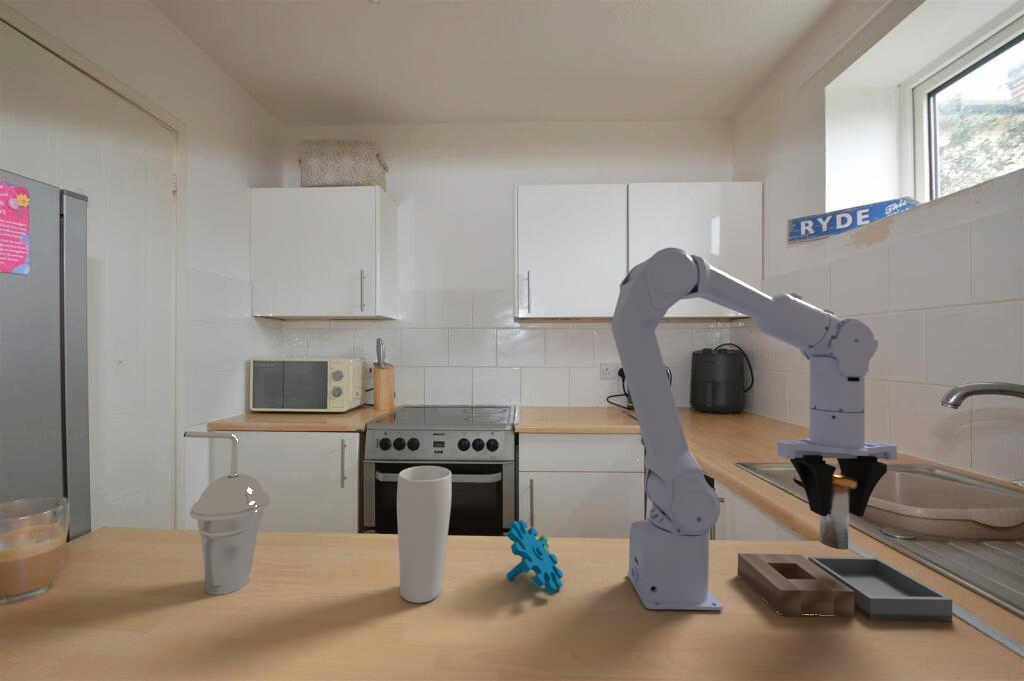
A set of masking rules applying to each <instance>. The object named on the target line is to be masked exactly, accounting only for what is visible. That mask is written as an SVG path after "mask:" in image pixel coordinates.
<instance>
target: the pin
mask: <svg viewBox="0 0 1024 681" xmlns="http://www.w3.org/2000/svg"><path fill="white" fill-rule="evenodd" d="M851 488H852V489H853V488H858V479H857V478H856V477H853V476H850V475H847V474H843V473H841V472H837V471H835V472H834V474H833V477H832V480H831V485H830V490H829V509H828V514H827V516H820V515H819V516H820V517H819V534H818V535H819V538H818V539H819V540H818V541H819V542H820V543H821V544H822V545H824V546H827V547H828V548H832V549H837V550H845V551H847V550H849V538H850V536H849V533H850V514H851V513H850V491H851Z"/></svg>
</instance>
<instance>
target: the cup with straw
mask: <svg viewBox="0 0 1024 681" xmlns="http://www.w3.org/2000/svg"><path fill="white" fill-rule="evenodd" d="M183 438H199V439H228V440H230V441H231V459H230V464H231V465H230V474H227V475H224V476H221V477H218V478H217V479H215V480H213V482H211V483H209V485H208V486H207V487H206V488H205V489H204V490H203V492H202V493H201V495H200V497H199V499H198V501H197V502H195V503H194V504H193V505H192V506H191V509H190V512H189V516H190V518H191V519H193V520H197V528H198V531H199V532H198V533H199V536H201V547H202V549H201V550H202V561H203V571H204V581H205V584H206V588H205V591H206V593H207V594H208V595H209V594H210V595H214V596H219V595H220V596H221V595H226V594H230V593H234V592H237V591H239V590H240V589H243V588H244V587H245V586H247V585H248V583H249V582H250V574H251V572H252V567H253V560H254V554H255V548H256V541H257V536H258V530H259V529H258V528H259V527H260V526H259V525H260V524H261V520H262V518H263V513H264V511H263V510H264V509H266V508H268V506H270V504H271V500H270V495H269V494H268V493H267V492H266V491H265V492H264V489H263V488H262V485H261V483H260V482H259V481H258V480H257V479H256V478H254V477H252V476H250V475H248V474H244V473H238V466H239V465H238V463H239V462H238V459H239V438H238V436H237V435H236V434H234V433H231V432H212V431H211V432H209V431H188V430H186V431H185V432H184V433H183Z"/></svg>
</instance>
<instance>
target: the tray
mask: <svg viewBox="0 0 1024 681" xmlns="http://www.w3.org/2000/svg"><path fill="white" fill-rule="evenodd" d="M807 557H808V558H807V559H808V560H809V561H811V562H812V563H814V564H815V565H816V566H818V567H819V568H821V569H822V570H824V571H825V572H827V573H828V574H830V575H831V576H833V577H834V578H835V579H837V580H838V581H840V582H841V583H843V584H844V585H846V586H847V587H849V588H850V589H852V590H853V591H854V610H856V611H857V612H859V613H860V614H862V615H863V616H864V617H866V618H867V619H869V620H873V621H876V620H878V621H924V622H925V621H937V622H952V621H953V599H952V598H950V597H948V596H947V595H945V594H943V593H941V592H939V591H937V590H936V589H934V588H932V587H930V586H928V585H927V584H925V583H923V582H921V581H919V580H918V579H916V578H914V577H912V576H911V575H909V574H907V573H906V572H903V571H902V570H899V569H898V568H896V567H894V566H892V565H891V564H889V563H887V562H885V561H884V560H881V559H879V558H878V557H857V556H856V557H853V556H851V557H849V556H846V557H844V556H842V557H841V556H807Z"/></svg>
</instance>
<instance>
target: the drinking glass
mask: <svg viewBox="0 0 1024 681" xmlns="http://www.w3.org/2000/svg"><path fill="white" fill-rule="evenodd" d="M452 478H453V477H452V471H451V470H450V469H448V468H446V467H443V466H438V465H437V466H436V465H420V466H419V465H418V466H411V467H408V468H405V469H403V470H401V471H400V472H399V473H398V477H397V488H396V489H397V490H396V517H397V518H396V519H397V520H396V521H397V540H398V557H399V561H398V563H399V593H400V596H401V597H402V599H404V600H405V601H407V602H410V603H412V604H423V603H427V602H431V601H434V600H435V599H436V598H437V597H439V596H440V594H441V593H442V592H443V588H444V572H445V562H446V554H447V544H448V537H449V528H450V527H449V526H450V518H451V512H452V511H451V508H452V498H453V497H452V495H453V494H452V490H453V487H452V485H453V481H452Z"/></svg>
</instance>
